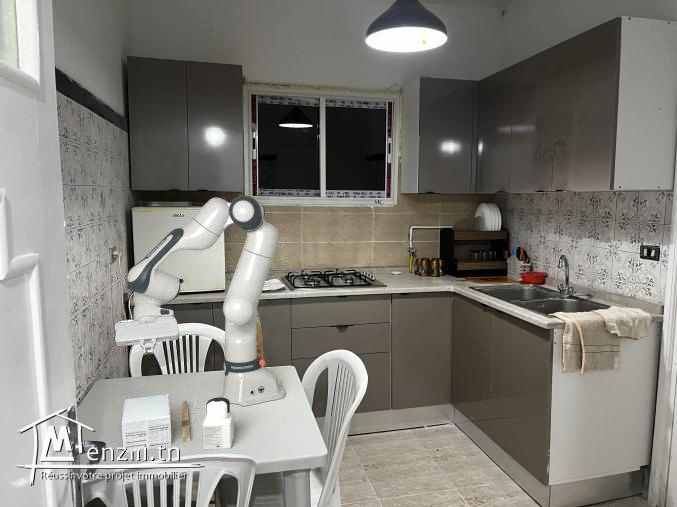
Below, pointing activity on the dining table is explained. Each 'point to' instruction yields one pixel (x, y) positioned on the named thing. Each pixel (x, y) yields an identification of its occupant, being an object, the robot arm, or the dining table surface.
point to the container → (218, 424)
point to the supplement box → (146, 422)
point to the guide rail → (185, 421)
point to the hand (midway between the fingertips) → (148, 353)
